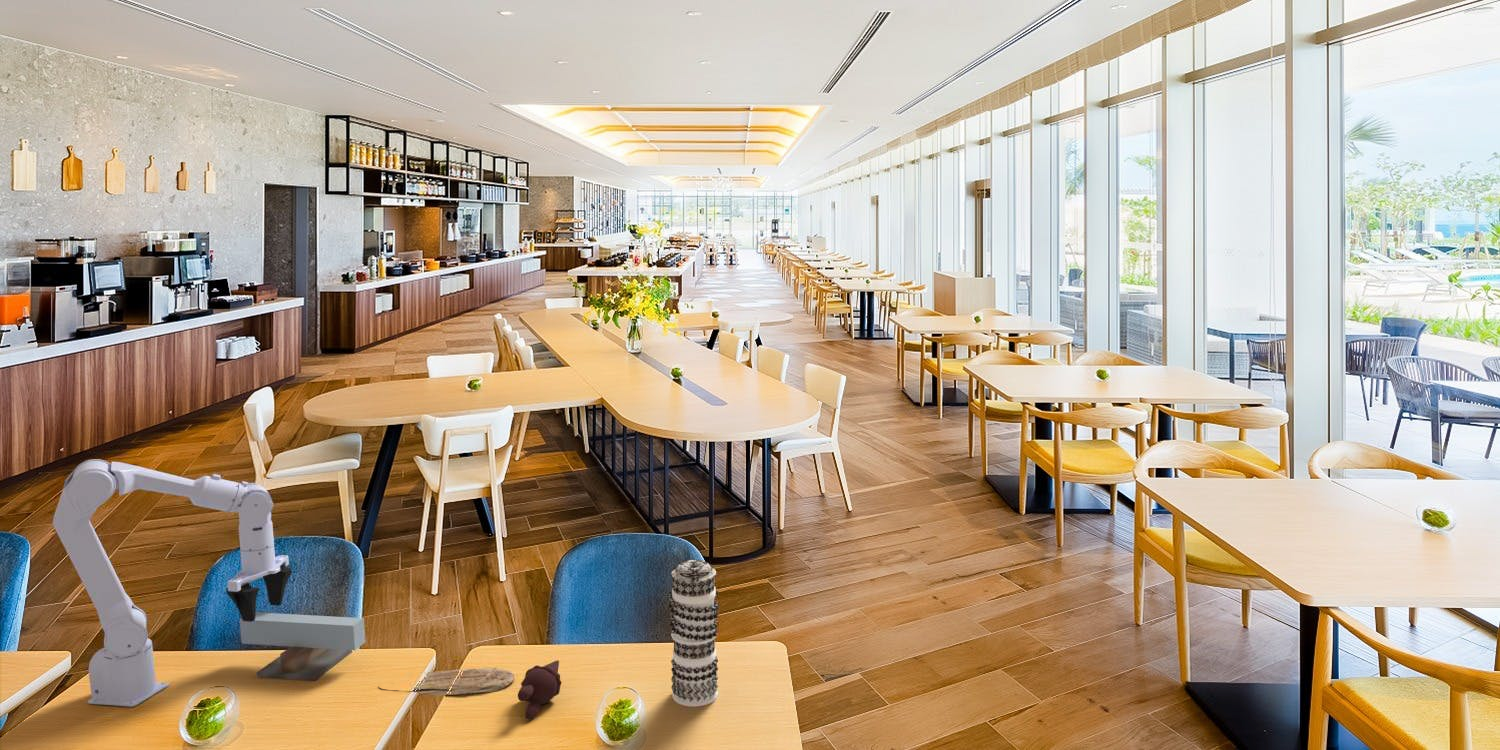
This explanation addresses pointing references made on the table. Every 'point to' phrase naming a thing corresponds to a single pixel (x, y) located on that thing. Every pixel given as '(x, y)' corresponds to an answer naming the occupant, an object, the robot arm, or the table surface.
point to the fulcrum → (303, 663)
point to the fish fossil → (465, 681)
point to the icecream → (539, 687)
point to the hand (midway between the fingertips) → (262, 612)
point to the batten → (304, 631)
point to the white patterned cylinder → (694, 633)
